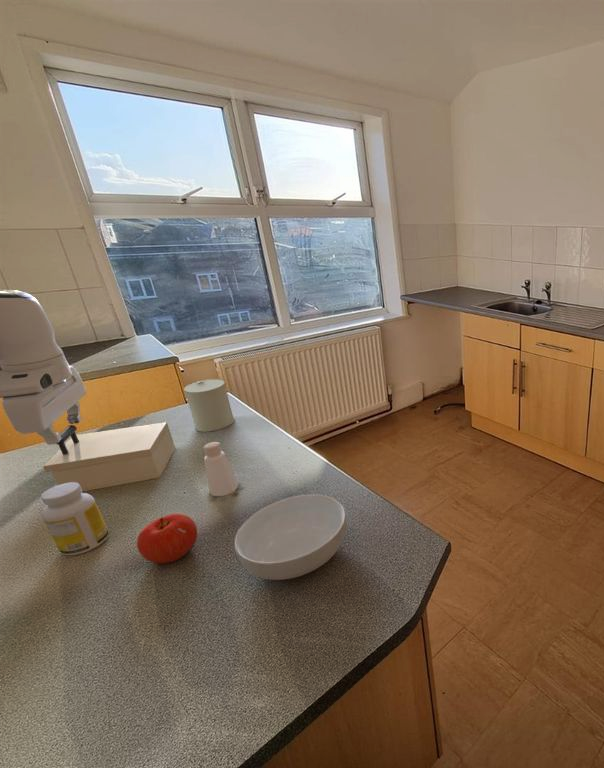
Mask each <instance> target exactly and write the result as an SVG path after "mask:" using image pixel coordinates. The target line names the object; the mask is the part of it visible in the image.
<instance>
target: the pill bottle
mask: <svg viewBox="0 0 604 768" xmlns="http://www.w3.org/2000/svg"><path fill="white" fill-rule="evenodd" d="M40 498H41V501H42V503H43V504H44V505H45V507H44V508H43V510H42V512H41V517H42V519H43V521H44V524H45V525H46V528H47V529H48V531H49V533H50V535H51V537H52V539H53V541H54V543H55V544H56V547H57V548H58V550H59V552H60V553H61V554H62V555H65V556H75V555H81V554H84V553H87V552H89V551H91V550H94V549H96V548H98V547H99V546H100V545H101V544H103V543H105V541H106V540H107V539H108V537H109V534H110V532H109V529H108V526H107V524H106V522H105V520H104V517H103V515H102V512H101V511H100V508H99V506H98V504H97V503H96V500H95V498H94V497H93V495H91V494H89V493H86V492H82V489H81V487H80V485H79V484H78V483H75V482H70V483H64V484H60V485H57V484H56V485H55V486H52V487H50V488H48V489H47V490H45V491H44V492H43V493H42V494H41V496H40Z"/></svg>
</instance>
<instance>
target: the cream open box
mask: <svg viewBox="0 0 604 768" xmlns="http://www.w3.org/2000/svg"><path fill="white" fill-rule="evenodd" d="M175 450H176V446H175V442H174V439H173V437H172V434H171V430H170V427H168V429H167V431H166V432H165V434H164V436H163V437H162V439H161V441H160V442H159V444H158V446H157V447H156V449H155V450H154V452H153V454H152V455H149V456H143V457H137V458H131V459H125V460H119V461H113V462H106V463H100V464H94V465H88V466H82V467H76V468H70V469H64V470H58V471H52V472H51V474H52V477H53V479H54V482H55V483H56V486H57V485H60V484H64V483H70V482H75V483H78V484H79V485H80V487H81V489H82V493H84V492H89V491H93V490H99V489H104V488H111V487H115V486H121V485H122V486H123V485H127V484H131V483H138V482H143V481H148V480H154V479H160V478H161V476H162V474H163V472H164V470H165V469H166V467H167V465H168V463H169V462H170V459H171V457H172V456H173V453H175V452H174V451H175Z"/></svg>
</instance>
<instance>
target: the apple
mask: <svg viewBox="0 0 604 768" xmlns="http://www.w3.org/2000/svg"><path fill="white" fill-rule="evenodd" d="M197 538H198V528H197V525H196V522H195V521H194V520H193V519H192V518H191V517H190V516H189V515H186V514H182V513H172V514H168V515H164V516H162V517H159V518H157V519H155V520H153V521H152V522H151V523H149V524H147V525H146V526H145V527H144V528H143V529H142V530H141V531H140V532H139V534H138V536H137V540H136V546H137V551H138V552H139V554H140V555H141V556H142V557H143V558H144V559H145V560H147V561H149V562H152V563H154V564H155V563H156V564H168V563H173V562H175V561H176V562H177V560H179V559H181V558H182V557H183V556H185V555H186V554H187V553H189V551H190V550H192V549H193V547H194V545H195V544H196V542H197Z"/></svg>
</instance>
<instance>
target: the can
mask: <svg viewBox="0 0 604 768" xmlns="http://www.w3.org/2000/svg"><path fill="white" fill-rule="evenodd" d="M183 391H184V395H185V397H186V401H187V403H188V407H189V409H190V414H191V417H192V420H193V424H194V429H195V430H196V431H198V432H202V433H203V432H204V433H205V432H214V431H218V430H222V429H225V428H227V427H229V426H231V425H232V424H234V422H235V417H234V414H233V410H232V408H231V403H230V400H229V395H228V392H227V391H228V390H227V388H226V382H225V380H223V379H219V378H209V379H203V380H198V381H195V382H192V383H189V384H187V385H186V386H184V387H183Z"/></svg>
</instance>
